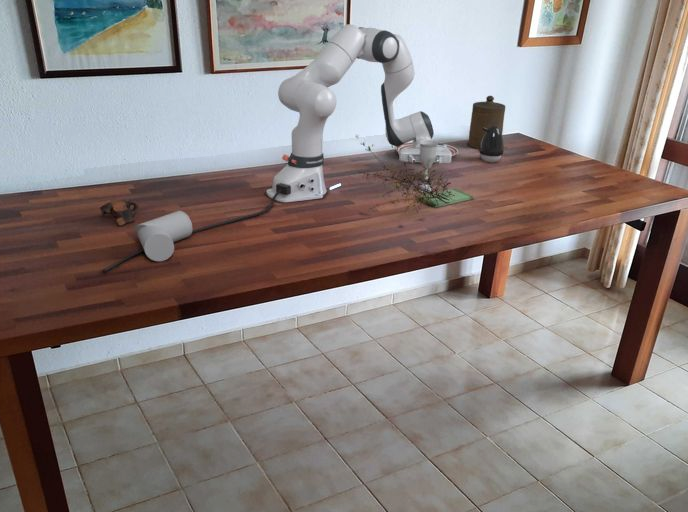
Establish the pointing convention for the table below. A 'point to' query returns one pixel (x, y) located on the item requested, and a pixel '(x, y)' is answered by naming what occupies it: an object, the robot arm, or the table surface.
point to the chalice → (427, 157)
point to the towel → (458, 197)
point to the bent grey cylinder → (163, 234)
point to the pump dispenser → (491, 144)
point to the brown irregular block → (120, 210)
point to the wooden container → (485, 119)
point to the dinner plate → (452, 149)
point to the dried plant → (413, 185)
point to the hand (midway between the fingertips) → (426, 161)
